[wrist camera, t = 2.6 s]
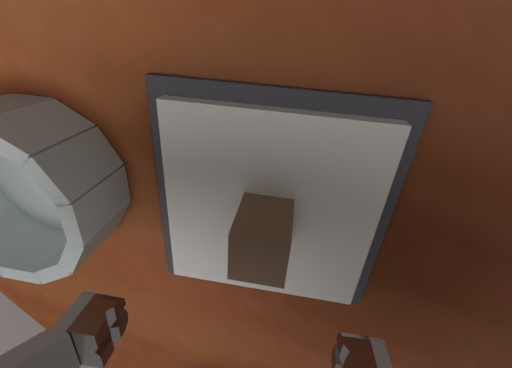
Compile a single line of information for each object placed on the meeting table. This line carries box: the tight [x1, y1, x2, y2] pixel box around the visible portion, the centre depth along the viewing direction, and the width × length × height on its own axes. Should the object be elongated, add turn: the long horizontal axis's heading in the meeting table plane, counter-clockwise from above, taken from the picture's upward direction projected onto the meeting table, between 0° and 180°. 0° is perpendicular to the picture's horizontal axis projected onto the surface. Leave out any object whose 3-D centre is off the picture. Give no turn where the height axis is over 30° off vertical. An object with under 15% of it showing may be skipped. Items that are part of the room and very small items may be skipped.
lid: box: [156, 95, 412, 305], centre depth 16 cm, size 13×13×5 cm
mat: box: [145, 73, 433, 305], centre depth 19 cm, size 15×15×1 cm
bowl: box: [0, 93, 131, 284], centre depth 18 cm, size 11×11×5 cm
